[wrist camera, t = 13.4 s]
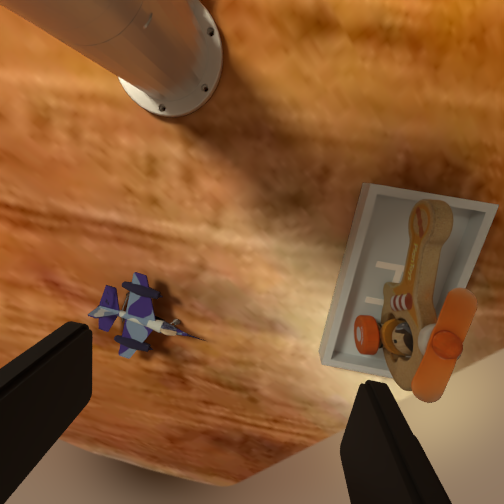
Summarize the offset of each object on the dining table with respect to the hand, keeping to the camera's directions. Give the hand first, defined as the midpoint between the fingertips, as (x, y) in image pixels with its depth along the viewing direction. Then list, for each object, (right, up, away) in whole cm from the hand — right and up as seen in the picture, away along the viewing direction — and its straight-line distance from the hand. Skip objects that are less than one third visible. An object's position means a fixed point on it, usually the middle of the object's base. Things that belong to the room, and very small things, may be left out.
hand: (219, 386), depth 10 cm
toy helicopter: (+19, 0, +27) cm, 33 cm away
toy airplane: (-14, -4, +32) cm, 35 cm away
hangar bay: (+20, 0, +28) cm, 34 cm away
